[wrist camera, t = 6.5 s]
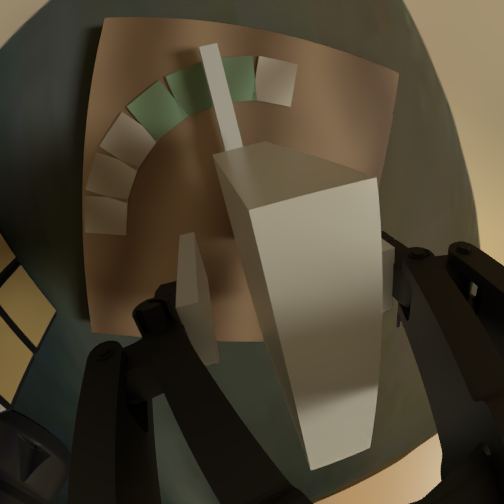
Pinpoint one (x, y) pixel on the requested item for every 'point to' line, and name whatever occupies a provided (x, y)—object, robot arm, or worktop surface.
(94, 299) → the brown square board
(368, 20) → the worktop surface
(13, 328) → the puzzle cube
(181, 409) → the robot arm
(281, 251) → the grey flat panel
